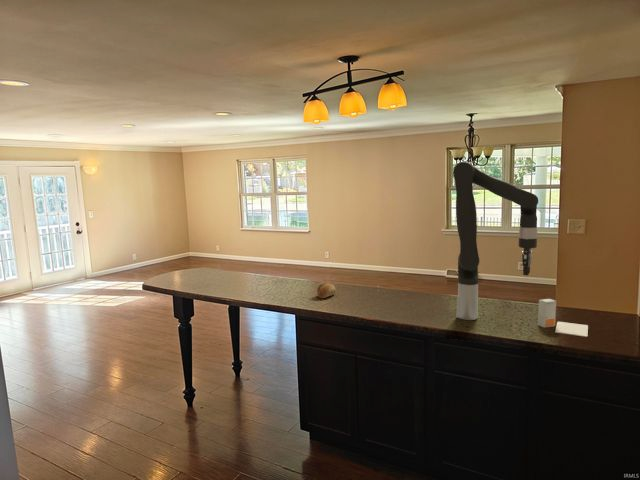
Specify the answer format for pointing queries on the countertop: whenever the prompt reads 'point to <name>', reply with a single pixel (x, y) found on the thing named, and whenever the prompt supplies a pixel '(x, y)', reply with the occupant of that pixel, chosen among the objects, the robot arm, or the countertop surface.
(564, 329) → the mat
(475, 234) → the robot arm
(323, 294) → the bread roll
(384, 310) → the countertop surface
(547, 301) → the skincare box
